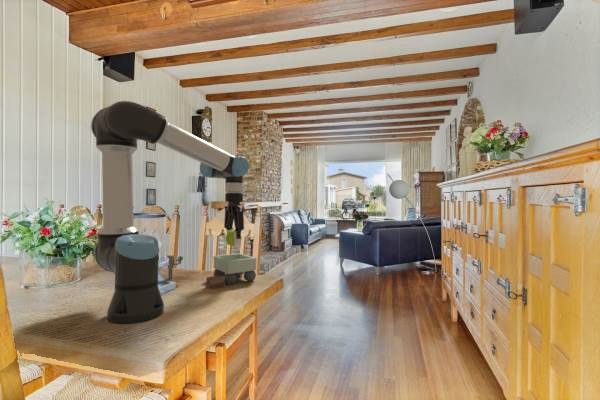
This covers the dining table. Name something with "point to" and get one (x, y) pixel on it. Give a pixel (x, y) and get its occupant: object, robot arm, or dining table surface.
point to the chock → (215, 281)
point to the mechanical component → (171, 263)
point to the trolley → (235, 267)
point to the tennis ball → (230, 238)
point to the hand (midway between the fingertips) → (233, 245)
